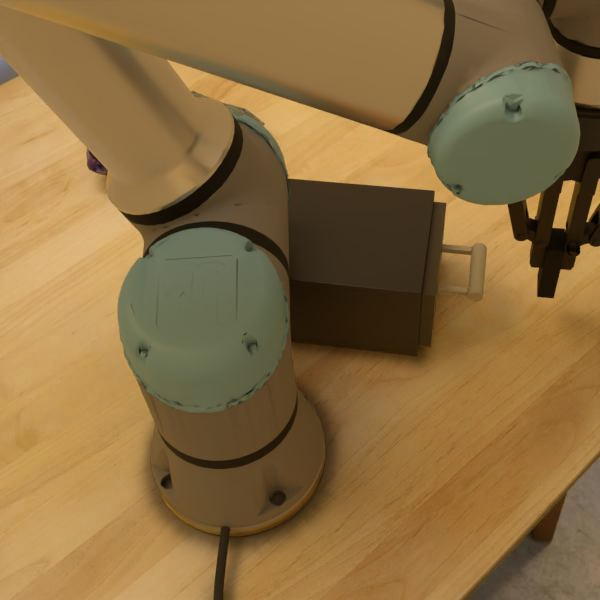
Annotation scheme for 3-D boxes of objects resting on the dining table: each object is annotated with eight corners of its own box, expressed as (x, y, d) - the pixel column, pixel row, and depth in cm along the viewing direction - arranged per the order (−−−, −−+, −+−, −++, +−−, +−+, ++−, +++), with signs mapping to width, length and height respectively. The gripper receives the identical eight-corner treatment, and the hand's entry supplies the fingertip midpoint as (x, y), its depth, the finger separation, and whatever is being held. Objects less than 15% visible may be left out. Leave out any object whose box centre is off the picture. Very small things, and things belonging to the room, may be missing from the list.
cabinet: (429, 256, 88) (435, 190, 81) (417, 356, 81) (421, 293, 73) (292, 243, 91) (284, 177, 83) (267, 339, 83) (256, 276, 76)
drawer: (483, 260, 86) (491, 206, 80) (476, 352, 80) (484, 301, 73) (311, 244, 89) (306, 190, 83) (290, 331, 83) (283, 280, 76)
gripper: (684, 49, 62) (617, 261, 80) (501, 42, 64) (476, 250, 83) (694, 117, 57) (620, 325, 76) (496, 107, 60) (471, 311, 78)
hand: (545, 286), depth 79 cm, fingers closed
